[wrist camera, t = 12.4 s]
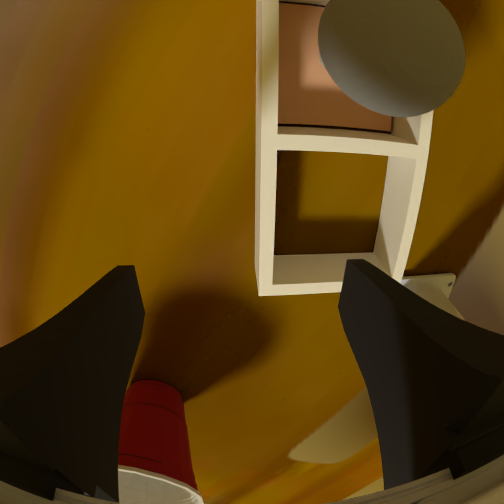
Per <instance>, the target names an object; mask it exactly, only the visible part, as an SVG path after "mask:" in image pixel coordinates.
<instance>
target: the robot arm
mask: <svg viewBox="0 0 504 504" xmlns="http://www.w3.org/2000/svg"><path fill="white" fill-rule="evenodd" d="M455 279H456V276H455V275H454V274H453V273H446V274H433V275H420V276H406V277H402V280H401V284H400V283H399V282H398V281H396V280H395V279H393V278H392V277H390V276H389V275H387V274H386V273H385V272H383V271H382V270H380V269H379V268H377V267H376V266H374V265H373V264H371V263H370V262H368V261H366V260H364V259H347V261H346V267H345V272H344V278H343V283H342V289H341V294H340V299H339V304H338V309H339V313H340V317H341V321H342V324H343V328H344V331H345V334H346V336H347V339H348V341H349V343H350V346H351V348H352V351H353V353H354V356H355V358H356V360H357V363H358V365H359V368H360V370H361V373H362V375H363V378H364V380H365V383H366V386H367V389H368V393H369V397H370V401H371V405H372V408H373V413H374V418H375V423H376V428H377V432H378V438H379V445H380V452H381V458H382V468H383V479H384V490H383V491H379V492H375V493H372V494H368V495H364V496H359V497H355V498H351V499H346V500H341V501H336V502H331V503H325V504H504V335H501V334H498V333H495V332H492V331H488V330H486V329H483V328H481V327H478V326H476V325H474V324H471V323H469V322H467V321H465V320H464V318H463V317H462V316H461V314H460V313H459V312H458V311H457V309H456V308H455V307H454V305H453V304H452V303H451V302H450V300H449V299H448V298H449V296H450V293H451V290H452V288H453V285H454V282H455ZM144 316H145V311H144V307H143V302H142V298H141V294H140V290H139V285H138V281H137V276H136V272H135V267H134V265H127V266H117V267H115V268H114V269H112V270H111V271H110V272H108V273H107V274H106V275H105V276H103V277H102V278H101V279H100V280H99V281H97V282H96V283H95V284H94V285H93V286H91V287H90V288H89V289H88V290H87V291H85V292H84V293H83V294H82V295H81V296H79V297H78V298H77V299H76V300H74V301H73V302H72V303H70V304H69V305H68V306H67V307H65V308H64V309H63V310H62V311H60V312H59V313H58V314H56V315H55V316H53V317H52V318H51V319H49V320H48V321H46V322H45V323H43V324H42V325H40V326H39V327H37V328H36V329H34V330H32V331H31V332H29V333H27V334H25V335H23V336H22V337H20V338H18V339H16V340H15V341H13V342H11V343H9V344H7V345H5V346H3V347H1V348H0V504H122V503H119V487H118V454H119V437H120V425H121V417H122V409H123V402H124V396H125V392H126V387H127V384H128V380H129V377H130V373H131V370H132V366H133V363H134V359H135V356H136V353H137V349H138V346H139V342H140V339H141V334H142V329H143V322H144Z"/></svg>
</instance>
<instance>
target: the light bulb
mask: <svg viewBox="0 0 504 504" xmlns="http://www.w3.org/2000/svg"><path fill="white" fill-rule="evenodd" d="M318 46H319V58H320V61H321V63H322V65H323V66H324V68H325V69H326V70H327V72H328V73H329V75H330V77H331V78H332V80H333V81H334V82H335V83H336V84H337V86H338V87H339V88H340V89H341V90H342V91H343V92H344V93H345V94H346V95H347V96H349V97H350V98H351V99H352V100H354V101H355V102H357V103H359V104H360V105H362V106H364V107H366V108H367V109H369V110H372V111H375V112H377V113H380V114H383V115H387V116H394V117H413V116H418V115H422V114H425V113H428V112H430V111H432V110H434V109H436V108H438V107H439V106H441V105H442V104H443V103H444V102H445V101H447V100H448V99H449V98H450V97H451V96H452V95H453V93H454V92H455V90H456V89H457V87H458V85H459V84H460V81H461V79H462V76H463V73H464V68H465V47H464V41H463V38H462V35H461V32H460V29H459V27H458V25H457V23H456V21H455V19H454V18H453V17H452V15H451V14H450V12H449V11H448V9H447V8H446V7H445V6H444V5H443V4H442V3H441V2H440V1H439V0H330V1H329V2H328V3H327V5H326V7H325V9H324V11H323V13H322V15H321V18H320V22H319V27H318Z"/></svg>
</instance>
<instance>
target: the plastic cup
mask: <svg viewBox="0 0 504 504" xmlns="http://www.w3.org/2000/svg"><path fill="white" fill-rule="evenodd" d="M118 487H119V503H122V504H204V502H203V499H202V496H201V494H200V492H199V491H198V490H197V485H196V482H195V476H194V473H193V469H192V462H191V455H190V447H189V440H188V431H187V425H186V422H185V413H184V404H183V400H182V397H181V394H180V393H179V392H178V391H177V390H176V389H175V388H174V387H172V386H170V385H168V384H167V383H164V382H160V381H156V380H140V381H136V382H135V383H133V384H132V385H131V386H130V388H129V389H128V390H127V392H126V394H125V397H124V402H123V409H122V417H121V425H120V437H119V454H118Z"/></svg>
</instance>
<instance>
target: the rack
mask: <svg viewBox="0 0 504 504" xmlns="http://www.w3.org/2000/svg"><path fill="white" fill-rule="evenodd" d="M279 1H282V2H295V3H305V4H314V5H322V6H326V5H327V3H328V2H329V1H330V0H256V183H255V271H256V279H257V286H258V294H259V296H271V295H294V294H313V293H331V292H341V289H342V283H343V278H344V272H345V267H346V261H347V259H364V260H366V261H368V262H370V263H371V264H373V265H374V266H376V267H377V268H379V269H380V270H382V271H383V272H385V273H386V274H387V275H389V276H390V277H392V278H393V279H395V280H396V281H398V282H399V283H400V284H401V280H402V277H403V273H404V269H405V266H406V262H407V258H408V254H409V250H410V246H411V242H412V238H413V234H414V229H415V225H416V220H417V216H418V211H419V206H420V201H421V196H422V190H423V185H424V179H425V173H426V166H427V159H428V152H429V145H430V137H431V128H432V118H433V113H434V110H432V111H430V112H428V113H425V114H422V115H418V116H413V117H394V116H393V117H392V116H387V115H383V114H380V113H377V112H375V111H372V110H369V109H367V108H366V107H364V106H362V105H360V104H359V103H357V102H355V101H354V100H352V99H351V98H350V97H349V96H347V95H346V94H345V93H344V92H343V91H342V90H341V89H340V88H339V87H338V86H337V84H336V83H335V82H334V81H333V80H332V78H331V77H330V75H329V73H328V72H327V70H326V69H325V68H324V66H323V65H322V63H321V61H320V58H319V46H318V27H319V22H320V18H321V15H322V13H323V11H324V9H325V7H318V6H309V5H299V4H287V3H279ZM278 123H281V124H309V125H327V126H341V127H353V128H363V129H373V130H382V131H390V132H391V134H386V133H377V132H368V131H357V130H346V129H332V128H316V127H293V126H278ZM391 123H392V129H391ZM277 150H303V151H329V152H347V153H362V154H375V155H386V156H389V157H388V166H387V173H386V181H385V188H384V194H383V201H382V207H381V213H380V219H379V225H378V230H377V235H376V241H375V246H374V251H373V252H370V253H337V254H303V255H274V232H275V204H276V172H277Z"/></svg>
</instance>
